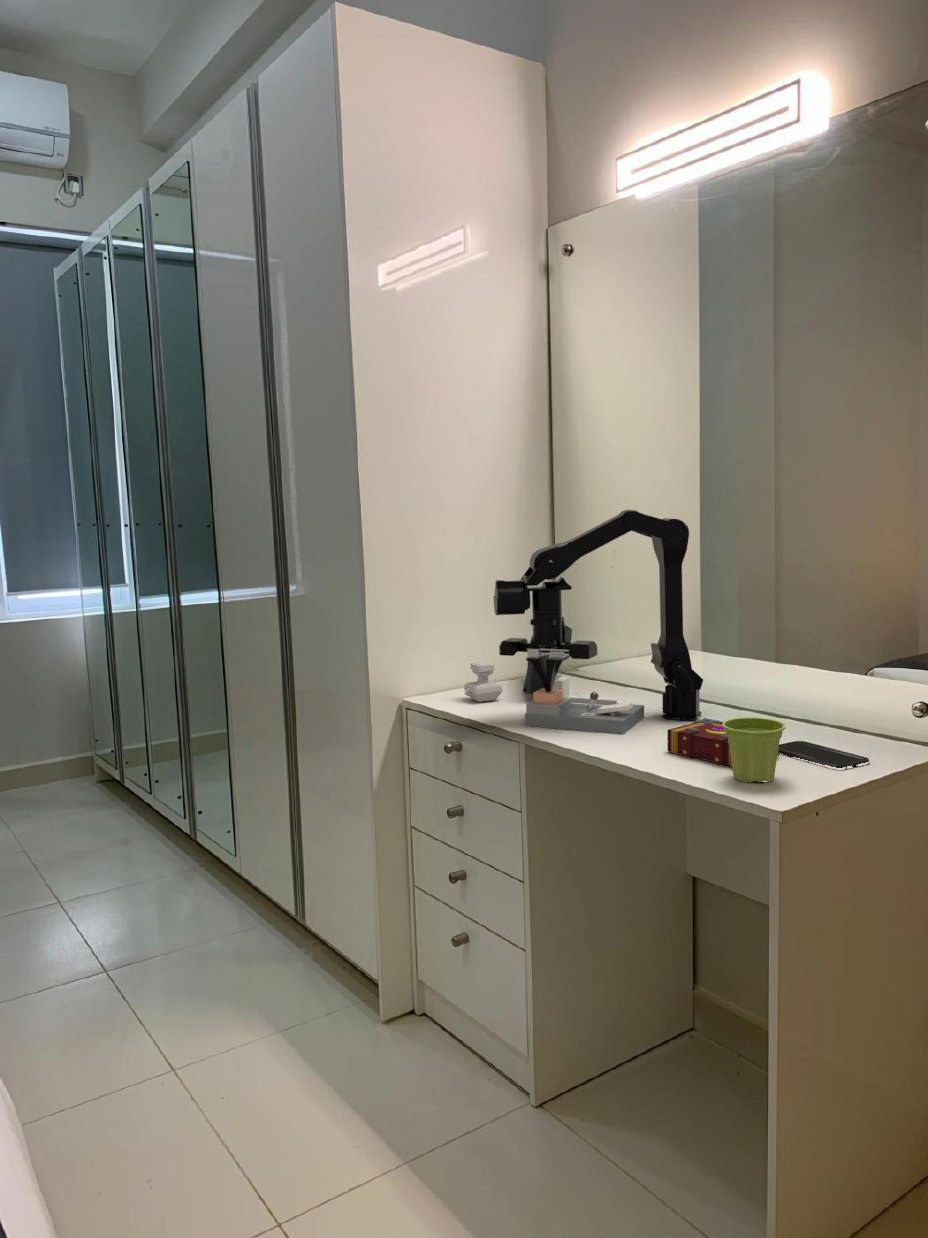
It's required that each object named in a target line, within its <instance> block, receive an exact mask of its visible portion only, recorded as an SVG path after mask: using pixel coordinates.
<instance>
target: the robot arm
mask: <svg viewBox="0 0 928 1238" xmlns="http://www.w3.org/2000/svg"><path fill="white" fill-rule="evenodd" d="M689 529H690V528H689V527H688V525H687V524H686V523H685V522H684V520H682V519H679V518H678V519H677V518H667V517H664V518H660V517H659V518H658V517H655V516H652V515H648V514H644V513H641V512H639V511H638V510H635V509H625V510H622V511H621V512H619V513H618V514H617V515H615V516H613V517H611V518H609V519H607V520H606V521H604V522H601V523H599V524H598V525H596V526H594V527H592V528H590V529H589V530H587V531H585V532H583V533H580V534H579V535H577V536H575V537H573V538H571V539H568V540H566V541H563V542H560V543H559V542H558V543H555V544H553V545H548V546H546V547H542V548H539V549H536V550H535V551H534V552H533V553H532V554H531V556H530V559H529V566H528V568H527V570H526V571H525V572H524V574H523V575H522V576H521V578H519V580H517V579H516V580H503V579H498V580H495V581H494V583H495V584H494V585H495V587H494V595H493V610H494V615H495V616H506V615H508V616H510V615H524V614H525V612H526V611H528V609H529V610H530V608H531V605H532V611H531V612H532V618H531V619H530V620H529V621H530V625H531V626H532V636H533V640H531V639H530V641H531V643H530V642H528V640H527V638H524V637H523V638H521V637H520V638H519V637H510V638H507V639H504V640H502V641H501V642H500V644H499V646H498V649H499V655H500V656H507V657H511V656H512V657H513V656H515V655H516V654H517V653H518V652H519V653H520V652H521V653H522V652H523V653H527V657H525V658H526V659H525V660H526V662H528V661H530V662H531V663H532V665H533V667H534V668H535V670H536V672H537V673H538V675H539V677H540V680H541V682H542V684H543V686H544V688H545V691H546V692H550V691H551V690H552V687H553V684H554V681H555V678H556V675H557V674H558V671H559V669H560V668H561V665H562V663H563V662H564V661H567V660H569V659H570V658H571V659H573V660H576V659H577V660H589V659H592V658H594V657H596V656H598V645H597V643H596V642H595V641H594V640H575V641H573V642H572V637H573V636H572V635H573V628H571V627H569V626H568V625H566V624H565V616H563V615H562V614H563V610H562V609H563V607H562V605H563V604H562V591H567V590H568V591H570V590H572V588H573V587H572V586H571V585H570V584H569V583H568V582H567V581H566V580H565V578H564V577H562V576H560V575H561V574H563V573H565V571H566V570H569V568H570V567H572V566H573V564H575V563H577V562H576V561H578V560H580V559H581V558H582V557H584V556H587V554H589V553H592V552H593V551H595V550H597V549H599V548H601V547H603V546H605V545H607V544H609V543H611V542H612V541H614V540H616V539H619V538H620V537H622V536H624V535H625V534H628V533H629V532H634V533H637V534H639V535H642V536H645V537H648V538H651V540H652V542H651V543H652V546H653V547H652V548H653V551H654V554H655V557H656V560H657V562H658V563H657V564H658V569H659V570H658V571H659V613H660V614H659V615H660V616H659V618H660V635H659V638H658V641H657V643H654V642H651V643H650V649H651V652H652V653H651V660H650V663H651V664H653V665H654V669H655V671H656V672H657V673H658V674H659V675H661V676H662V678H663V681H664V683H665V684H667V685H666V686H664V692H663V693H662V714H663V715H662V719H671V720H683V721H684V720H686V721H697V719H698V718H699V717H700V716H701V715H702V711H700V706H701V705H700V699H701V698H700V697H701V696H700V690H701V689H702V687H703V682H704V678H702V677H701V676H700V675H699V674H698V673H697V672H696V671H695V670H694V669H693V668H692V666H693V665H692V662H691V656H690V655H691V654H690V651H689V648H688V644H687V642H686V640H685V637H684V613H683V611H684V609H683V605H684V604H683V599H684V598H683V562H684V559H685V557H686V554H687V551H688V544H689V538H690V530H689ZM559 576H560V577H559ZM558 577H559V578H558ZM556 578H558V579H557V580H556V581H555V580H554V579H556ZM545 580H549V581H545ZM550 580H554V581H550ZM541 583H542V584H541ZM540 584H541V586H538V585H540ZM531 595H532V596H531ZM531 599H532V604H531ZM545 653H546V654H545Z"/></svg>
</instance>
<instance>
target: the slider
mask: <svg viewBox="0 0 928 1238" xmlns="http://www.w3.org/2000/svg"><path fill="white" fill-rule="evenodd" d="M544 689H545V688H544ZM552 689H560V690H563V696H564V698H565V699H569V697H570V677H568V676H567V677H566V676H562V674H559V673H557V675H556V678H555V681H554V684H553V687H552Z"/></svg>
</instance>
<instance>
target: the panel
mask: <svg viewBox="0 0 928 1238" xmlns="http://www.w3.org/2000/svg"><path fill="white" fill-rule="evenodd" d="M589 700H590V697H573V696H569V699H565V698H564V701H562V702H560V703H558V704H557V705H553V704H539V703H534V702H533V699H532V700H530V701H528V702H526V704H525V706H526V712H525V713H524V726H525V727H533V726H540V727H539V728H545V727H547V728H546V729H559V730H571V731H581V732H582V731H584V732H596V733H605V734H607V733H608V734H619V735H620V734H621V735H624V734H625V733H626V732H628V731H629V730H631V728H633V727H635V726H636V725H637V724H638V723H639V722H640V721H642V720H643V719H644V718H645V705H644V704H635V703H634V704H633V707H632V708H630V709H629V710H626V711H617V712H608V713H598V710H597V709H599V708H600V707H602V706H604V705H613V704H620V703H618V699H607V698H603V699H602V698H598V699H597V700H596V702H595V705H594V708H593V711H592V712H590V711H588V710H586V709H587V706H588V703H589Z"/></svg>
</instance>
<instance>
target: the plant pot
mask: <svg viewBox="0 0 928 1238" xmlns="http://www.w3.org/2000/svg"><path fill="white" fill-rule="evenodd" d="M722 722H723V723H722V726H723V728H725V732H726V736H727V737H728V742H729V748H730V755H731V762H732V766H731V767H732V775H733V777H734V779H736V780H737V781H740V780H741V781H740V782H743V781H746V782H745V783H747V782H749V783H753V782H758V783H760V782H763V781H769V780H772V781H773V780H774V779H775V774H776V769H777V768H776V767H777V761H778V757H777V755H778V748H779V744H780V742H781V741H780V740H781V739H782V735H783V731H784V730H785V729H786V723H784V722H782V721H779V720H776V719H772V718H765V717H751V716H750V717H735V718H730V719H726V720H724V721H722ZM769 782H770V781H769Z"/></svg>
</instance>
